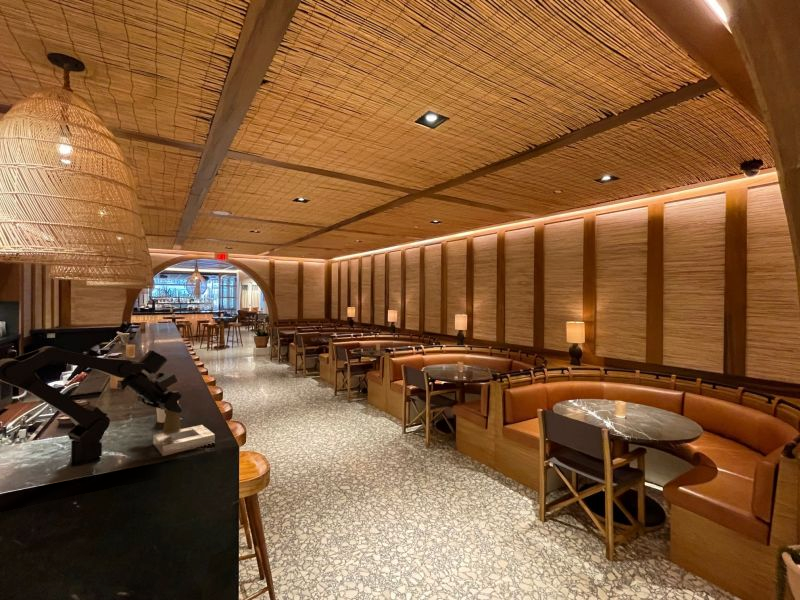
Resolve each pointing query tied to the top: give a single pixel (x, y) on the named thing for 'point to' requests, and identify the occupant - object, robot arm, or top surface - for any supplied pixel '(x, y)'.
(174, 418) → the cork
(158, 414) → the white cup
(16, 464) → the top surface
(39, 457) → the top surface
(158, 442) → the socket block
